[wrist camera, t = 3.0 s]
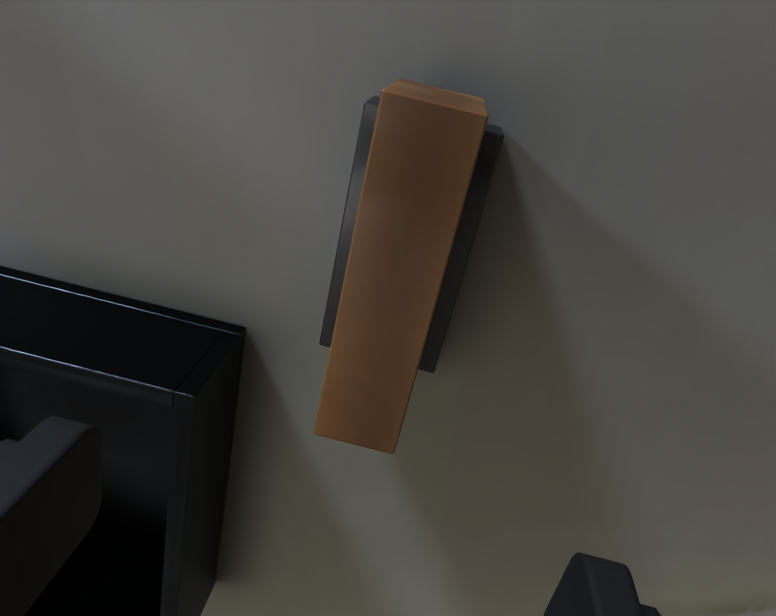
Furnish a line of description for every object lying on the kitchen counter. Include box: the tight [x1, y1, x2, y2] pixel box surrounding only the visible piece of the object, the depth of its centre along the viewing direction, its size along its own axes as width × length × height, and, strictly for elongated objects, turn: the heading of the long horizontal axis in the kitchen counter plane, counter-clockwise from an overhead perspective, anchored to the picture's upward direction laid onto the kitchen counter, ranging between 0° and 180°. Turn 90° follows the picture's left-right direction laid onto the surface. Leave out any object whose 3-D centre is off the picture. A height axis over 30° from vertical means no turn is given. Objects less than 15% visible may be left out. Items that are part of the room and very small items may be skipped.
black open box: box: [0, 266, 246, 616], centre depth 29 cm, size 16×18×6 cm
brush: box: [314, 79, 504, 454], centre depth 21 cm, size 5×12×6 cm, turn 168°
